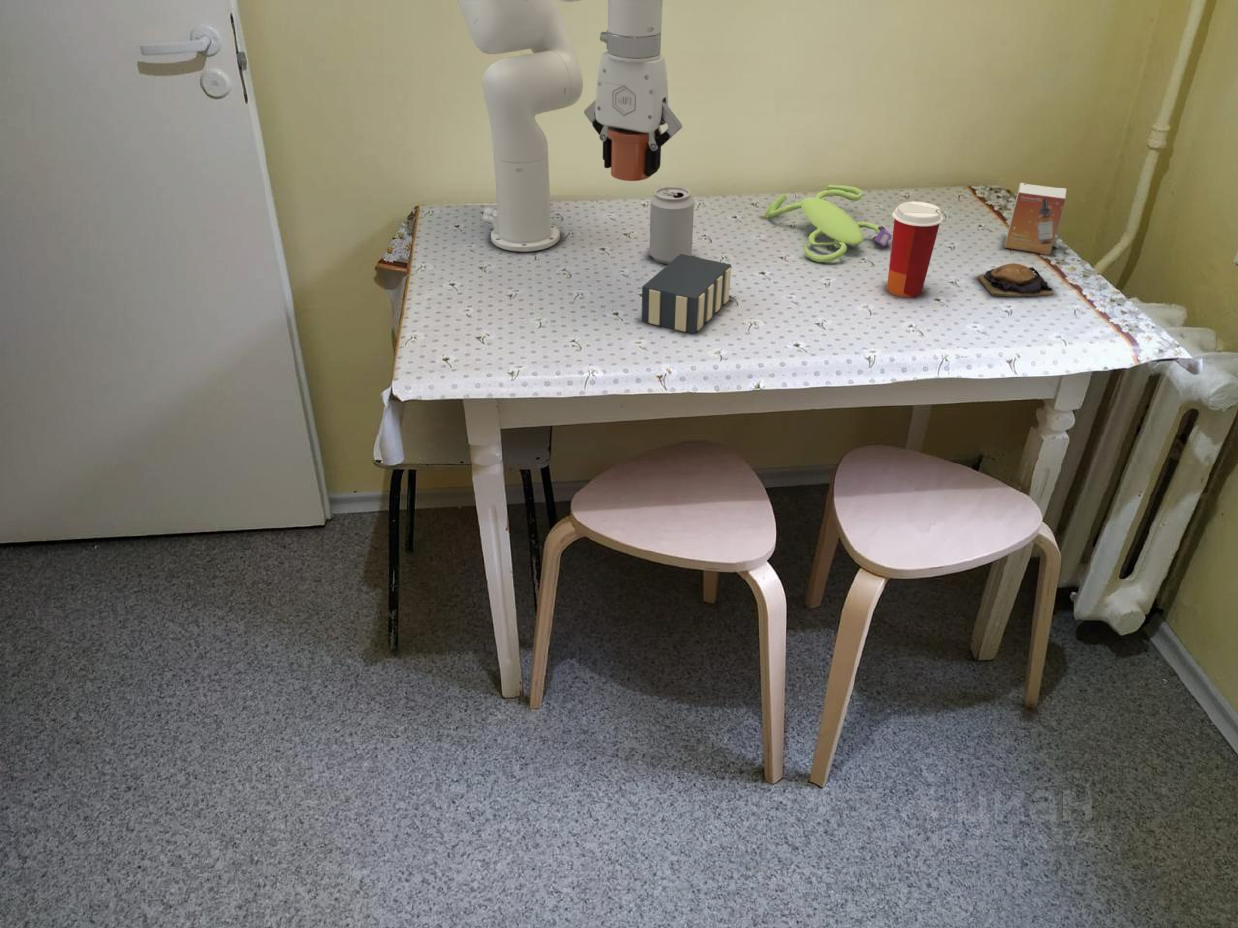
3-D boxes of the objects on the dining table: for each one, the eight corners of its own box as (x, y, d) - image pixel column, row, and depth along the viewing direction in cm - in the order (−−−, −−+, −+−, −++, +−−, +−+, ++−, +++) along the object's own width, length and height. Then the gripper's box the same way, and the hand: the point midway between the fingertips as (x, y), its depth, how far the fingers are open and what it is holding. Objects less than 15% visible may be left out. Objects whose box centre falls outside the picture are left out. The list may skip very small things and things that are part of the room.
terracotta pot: (598, 177, 150) (598, 130, 146) (620, 162, 155) (621, 116, 151) (642, 186, 147) (643, 138, 143) (663, 170, 152) (665, 124, 148)
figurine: (846, 204, 197) (850, 176, 194) (909, 257, 176) (914, 227, 172) (758, 212, 193) (760, 184, 190) (811, 267, 172) (815, 236, 169)
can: (688, 267, 172) (691, 200, 165) (645, 264, 173) (647, 197, 166) (694, 250, 178) (697, 185, 171) (653, 247, 179) (654, 182, 172)
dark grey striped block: (640, 322, 155) (641, 287, 151) (678, 287, 165) (680, 253, 162) (695, 335, 151) (696, 299, 148) (730, 299, 162) (733, 264, 158)
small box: (1003, 248, 179) (1017, 192, 173) (1006, 237, 183) (1019, 181, 177) (1050, 255, 176) (1066, 198, 170) (1052, 244, 181) (1067, 187, 174)
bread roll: (992, 299, 162) (996, 278, 160) (974, 277, 169) (979, 257, 167) (1055, 297, 163) (1061, 276, 160) (1036, 275, 169) (1041, 255, 167)
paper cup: (930, 284, 166) (946, 203, 158) (926, 303, 161) (942, 220, 152) (882, 277, 169) (896, 197, 160) (877, 296, 163) (890, 214, 155)
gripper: (567, 42, 140) (569, 167, 151) (679, 59, 134) (672, 188, 145) (592, 32, 146) (592, 152, 156) (700, 47, 140) (693, 172, 150)
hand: (631, 168), depth 151 cm, fingers closed on terracotta pot, 6 cm apart
